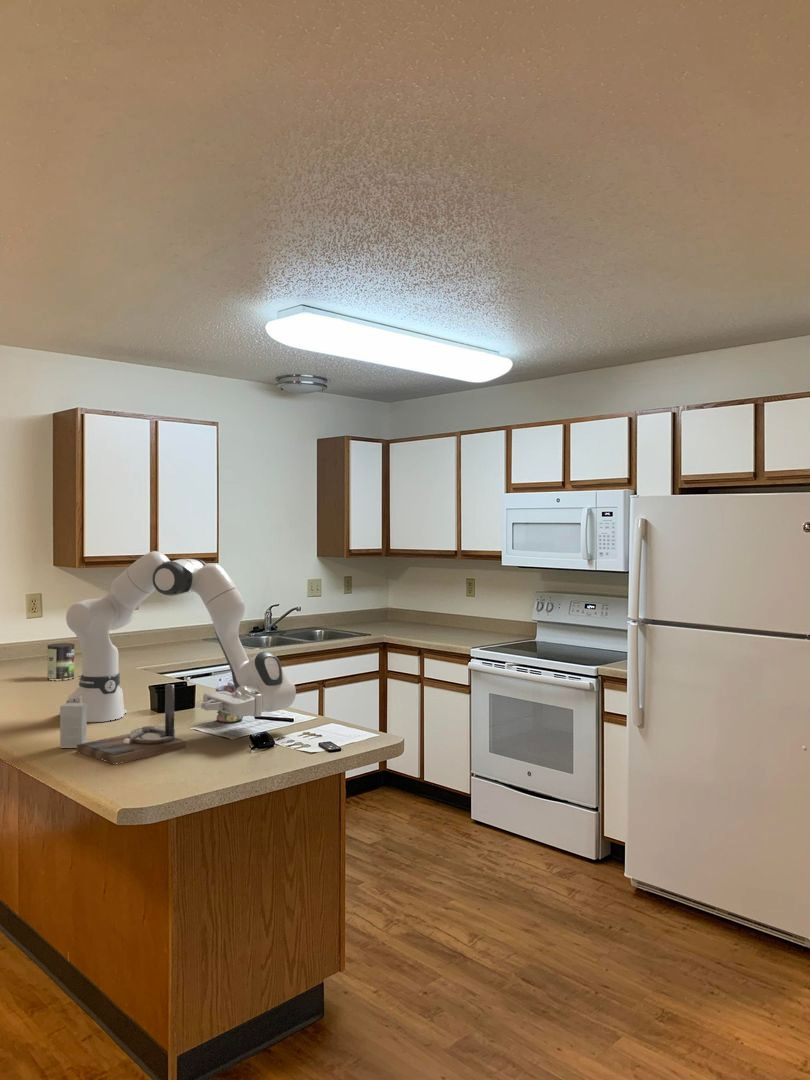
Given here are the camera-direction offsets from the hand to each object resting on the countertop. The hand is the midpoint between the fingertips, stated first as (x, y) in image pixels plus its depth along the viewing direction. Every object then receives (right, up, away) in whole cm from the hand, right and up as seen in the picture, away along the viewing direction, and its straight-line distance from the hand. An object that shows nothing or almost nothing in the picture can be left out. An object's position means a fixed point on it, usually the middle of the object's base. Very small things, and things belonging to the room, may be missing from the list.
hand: (203, 706), depth 229 cm
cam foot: (-13, -8, -6) cm, 17 cm away
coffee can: (-84, -10, +101) cm, 132 cm away
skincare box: (-36, -11, -3) cm, 38 cm away
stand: (-18, -11, -6) cm, 22 cm away
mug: (0, -11, +30) cm, 32 cm away
